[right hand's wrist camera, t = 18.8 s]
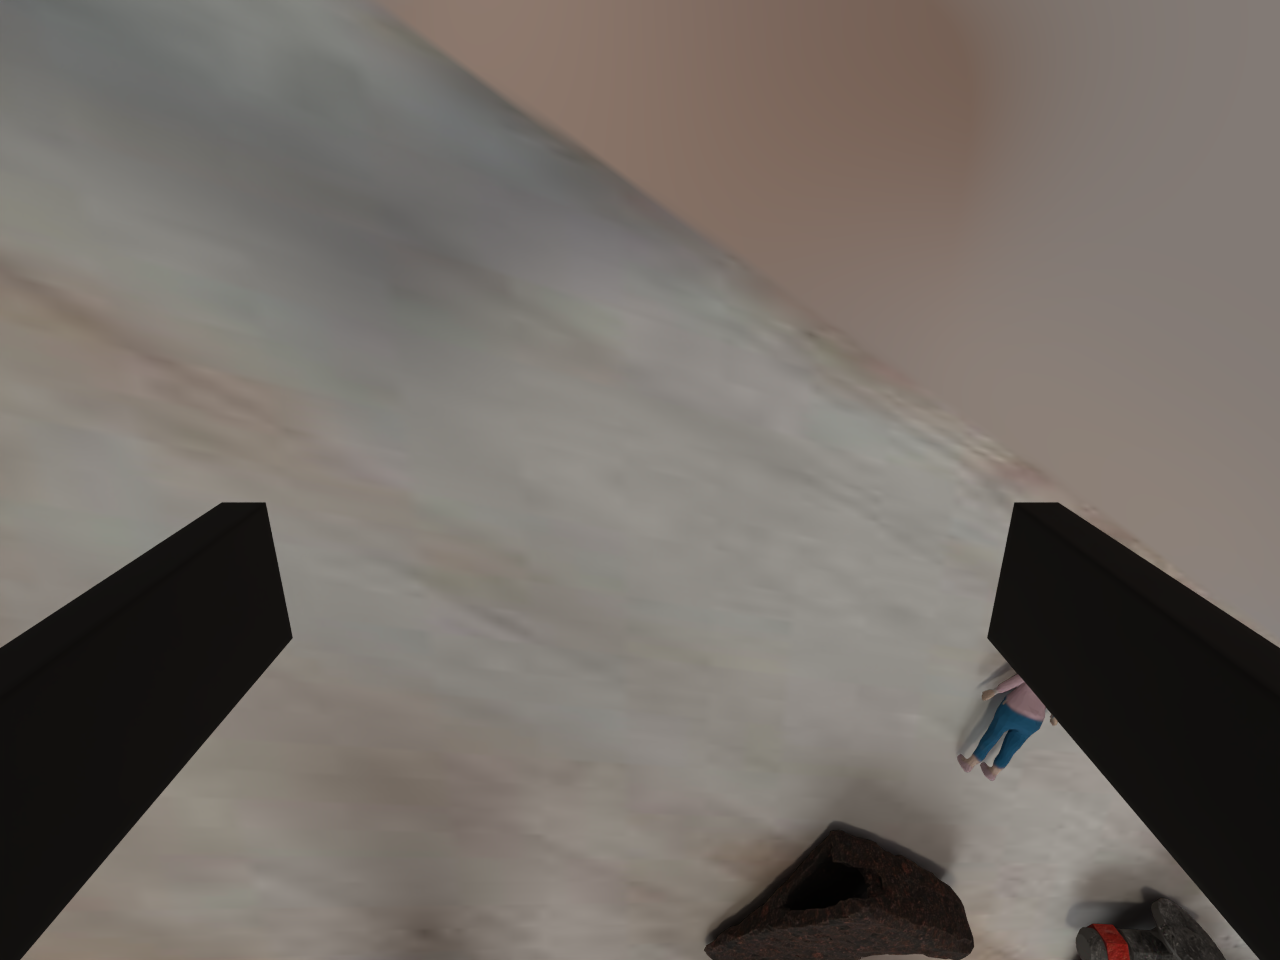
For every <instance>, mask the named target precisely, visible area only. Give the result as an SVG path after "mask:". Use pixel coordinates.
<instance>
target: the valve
mask: <svg viewBox="0 0 1280 960" xmlns="http://www.w3.org/2000/svg"><path fill="white" fill-rule="evenodd" d="M1151 909H1152V914H1153V917H1154V919H1155V921H1156V923H1157V926H1156V928H1154V929H1152V930H1135V929H1116V928H1115V927H1114V926H1113V925H1110V924H1091V925H1089V926H1088V927H1082V928H1081V929H1080V931H1079V933H1078V935H1077V937H1076V947H1077V951H1078V953H1079V956H1080V957H1081V959H1082V960H1226V959H1225V958H1224V956H1223V954H1222V953H1221V951H1220V950H1219V949H1218V947H1217V946H1216V944H1215V943H1214V942H1213V941H1212V939H1211V938H1210V937H1209V935H1208V934H1207V933H1206V932H1205V931H1204V930H1203V929H1202V927H1201V926H1200V925H1199V924H1198V923H1197V922H1196V921H1195V920H1194V919H1193V918H1192V917H1191V916H1190V915H1189V914H1188V913H1187V912H1185V911H1184V910H1183V909H1182V908H1181V907H1179V906H1178V905H1177V904H1175V903H1174V902H1172V901H1170V900H1168V899H1165V898H1161V899H1158V900H1157V901H1155V902H1153V903H1152V905H1151Z"/></svg>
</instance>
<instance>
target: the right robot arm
mask: <svg viewBox="0 0 1280 960" xmlns="http://www.w3.org/2000/svg"><path fill="white" fill-rule="evenodd" d="M292 638H293V637H292V632H291V627H290V622H289V617H288V612H287V607H286V602H285V597H284V592H283V587H282V582H281V577H280V572H279V567H278V562H277V557H276V552H275V547H274V542H273V537H272V532H271V527H270V522H269V517H268V512H267V507H266V503H220V504H219V505H217V506H216V507H214V508H213V509H211V510H210V511H208V512H207V513H205V514H204V515H202V516H201V517H199V518H198V519H196V520H194V521H193V522H191V523H190V524H188V525H187V526H185V527H184V528H182V529H181V530H179V531H178V532H176V533H175V534H173V535H172V536H170V537H169V538H167V539H166V540H164V541H163V542H161V543H159V544H158V545H156V546H155V547H153V548H152V549H150V550H149V551H147V552H146V553H144V554H143V555H141V556H140V557H138V558H137V559H135V560H134V561H132V562H131V563H129V564H128V565H126V566H124V567H123V568H121V569H120V570H118V571H117V572H115V573H114V574H112V575H111V576H109V577H108V578H106V579H105V580H103V581H102V582H100V583H99V584H97V585H96V586H94V587H93V588H91V589H89V590H88V591H86V592H85V593H83V594H82V595H80V596H79V597H77V598H76V599H74V600H73V601H71V602H70V603H68V604H67V605H65V606H64V607H62V608H61V609H59V610H58V611H56V612H54V613H53V614H51V615H50V616H48V617H47V618H45V619H44V620H42V621H41V622H39V623H38V624H36V625H35V626H33V627H32V628H30V629H29V630H27V631H26V632H24V633H23V634H21V635H19V636H18V637H16V638H15V639H13V640H12V641H10V642H9V643H7V644H6V645H4V646H3V647H1V648H0V960H20V959H21V958H22V957H23V956H24V955H25V954H26V952H27V951H28V950H29V949H30V948H31V946H32V945H33V944H34V943H35V942H36V941H37V939H38V938H39V937H40V936H41V935H42V933H43V932H44V931H45V930H46V929H47V928H48V926H49V925H50V924H51V923H52V922H53V920H54V919H55V918H56V917H57V916H58V915H59V913H60V912H61V911H62V910H63V909H64V907H65V906H66V905H67V904H68V903H69V902H70V900H71V899H72V898H73V897H74V896H75V894H76V893H77V892H78V891H79V890H80V889H81V887H82V886H83V885H84V884H85V883H86V881H87V880H88V879H89V878H90V877H91V876H92V874H93V873H94V872H95V871H96V870H97V868H98V867H99V866H100V865H101V864H102V863H103V861H104V860H105V859H106V858H107V857H108V855H109V854H110V853H111V852H112V851H113V850H114V848H115V847H116V846H117V845H118V844H119V842H120V841H121V840H122V839H123V838H124V837H125V835H126V834H127V833H128V832H129V831H130V829H131V828H132V827H133V826H134V825H135V824H136V822H137V821H138V820H139V819H140V818H141V816H142V815H143V814H144V813H145V812H146V811H147V809H148V808H149V807H150V806H151V805H152V804H153V802H154V801H155V800H156V799H157V798H158V796H159V795H160V794H161V793H162V792H163V791H164V789H165V788H166V787H167V786H168V785H169V783H170V782H171V781H172V780H173V779H174V778H175V776H176V775H177V774H178V773H179V772H180V770H181V769H182V768H183V767H184V766H185V765H186V763H187V762H188V761H189V760H190V759H191V757H192V756H193V755H194V754H195V753H196V752H197V750H198V749H199V748H200V747H201V746H202V744H203V743H204V742H205V741H206V740H207V739H208V737H209V736H210V735H211V734H212V733H213V731H214V730H215V729H216V728H217V727H218V726H219V724H220V723H221V722H222V721H223V720H224V718H225V717H226V716H227V715H228V714H229V713H230V711H231V710H232V709H233V708H234V707H235V705H236V704H237V703H238V702H239V701H240V700H241V698H242V697H243V696H244V695H245V694H246V692H247V691H248V690H249V689H250V688H251V687H252V685H253V684H254V683H255V682H256V681H257V679H258V678H259V677H260V676H261V675H262V674H263V672H264V671H265V670H266V669H267V668H268V667H269V665H270V664H271V663H272V662H273V661H274V659H275V658H276V657H277V656H278V655H279V654H280V652H281V651H282V650H283V649H284V648H285V646H286V645H287V644H288V643H289V642H290V641H291V639H292ZM987 638H988V639H989V641H990V642H991V643H992V644H993V645H994V646H995V648H996V649H997V650H998V651H999V652H1000V654H1001V655H1002V656H1003V657H1004V658H1005V659H1006V661H1007V662H1008V663H1009V664H1010V665H1011V667H1012V668H1013V669H1014V670H1015V671H1016V672H1017V674H1018V675H1019V676H1020V677H1021V678H1022V679H1023V681H1024V682H1025V683H1026V684H1027V685H1028V687H1029V688H1030V689H1031V690H1032V691H1033V692H1034V694H1035V695H1036V696H1037V697H1038V698H1039V700H1040V701H1041V702H1042V703H1043V704H1044V705H1045V707H1046V708H1047V709H1048V710H1049V711H1050V713H1051V714H1052V715H1053V716H1054V717H1055V718H1056V720H1057V721H1058V722H1059V723H1060V724H1061V726H1062V727H1063V728H1064V729H1065V730H1066V731H1067V733H1068V734H1069V735H1070V736H1071V737H1072V739H1073V740H1074V741H1075V742H1076V743H1077V744H1078V746H1079V747H1080V748H1081V749H1082V750H1083V752H1084V753H1085V754H1086V755H1087V756H1088V757H1089V759H1090V760H1091V761H1092V762H1093V763H1094V765H1095V766H1096V767H1097V768H1098V769H1099V770H1100V772H1101V773H1102V774H1103V775H1104V776H1105V778H1106V779H1107V780H1108V781H1109V782H1110V783H1111V785H1112V786H1113V787H1114V788H1115V789H1116V791H1117V792H1118V793H1119V794H1120V795H1121V796H1122V798H1123V799H1124V800H1125V801H1126V802H1127V804H1128V805H1129V806H1130V807H1131V808H1132V809H1133V811H1134V812H1135V813H1136V814H1137V815H1138V816H1139V818H1140V819H1141V820H1142V821H1143V822H1144V824H1145V825H1146V826H1147V827H1148V828H1149V829H1150V831H1151V832H1152V833H1153V834H1154V835H1155V837H1156V838H1157V839H1158V840H1159V841H1160V842H1161V844H1162V845H1163V846H1164V847H1165V848H1166V850H1167V851H1168V852H1169V853H1170V854H1171V855H1172V857H1173V858H1174V859H1175V860H1176V861H1177V863H1178V864H1179V865H1180V866H1181V867H1182V868H1183V870H1184V871H1185V872H1186V873H1187V874H1188V876H1189V877H1190V878H1191V879H1192V880H1193V881H1194V883H1195V884H1196V885H1197V886H1198V887H1199V889H1200V890H1201V891H1202V892H1203V893H1204V894H1205V896H1206V897H1207V898H1208V899H1209V900H1210V902H1211V903H1212V904H1213V905H1214V906H1215V907H1216V909H1217V910H1218V911H1219V912H1220V913H1221V915H1222V916H1223V917H1224V918H1225V919H1226V920H1227V922H1228V923H1229V924H1230V925H1231V926H1232V928H1233V929H1234V930H1235V931H1236V932H1237V933H1238V935H1239V936H1240V937H1241V938H1242V939H1243V941H1244V942H1245V943H1246V944H1247V945H1248V946H1249V948H1250V949H1251V950H1252V951H1253V952H1254V954H1255V955H1256V956H1257V957H1258V958H1259V959H1260V960H1280V648H1279V647H1277V646H1276V645H1274V644H1273V643H1271V642H1270V641H1268V640H1267V639H1265V638H1264V637H1262V636H1261V635H1259V634H1257V633H1256V632H1254V631H1253V630H1251V629H1250V628H1248V627H1247V626H1245V625H1244V624H1242V623H1241V622H1239V621H1238V620H1236V619H1235V618H1233V617H1232V616H1230V615H1229V614H1227V613H1226V612H1224V611H1222V610H1221V609H1219V608H1218V607H1216V606H1215V605H1213V604H1212V603H1210V602H1209V601H1207V600H1206V599H1204V598H1203V597H1201V596H1200V595H1198V594H1197V593H1195V592H1194V591H1192V590H1191V589H1189V588H1187V587H1186V586H1184V585H1183V584H1181V583H1180V582H1178V581H1177V580H1175V579H1174V578H1172V577H1171V576H1169V575H1168V574H1166V573H1165V572H1163V571H1162V570H1160V569H1159V568H1157V567H1156V566H1154V565H1152V564H1151V563H1149V562H1148V561H1146V560H1145V559H1143V558H1142V557H1140V556H1139V555H1137V554H1136V553H1134V552H1133V551H1131V550H1130V549H1128V548H1127V547H1125V546H1124V545H1122V544H1121V543H1119V542H1117V541H1116V540H1114V539H1113V538H1111V537H1110V536H1108V535H1107V534H1105V533H1104V532H1102V531H1101V530H1099V529H1098V528H1096V527H1095V526H1093V525H1092V524H1090V523H1089V522H1087V521H1086V520H1084V519H1082V518H1081V517H1079V516H1078V515H1076V514H1075V513H1073V512H1072V511H1070V510H1069V509H1067V508H1066V507H1064V506H1063V505H1061V504H1060V503H1014V507H1013V512H1012V517H1011V522H1010V527H1009V532H1008V537H1007V542H1006V547H1005V552H1004V557H1003V562H1002V567H1001V572H1000V577H999V582H998V587H997V592H996V597H995V602H994V607H993V612H992V617H991V622H990V627H989V632H988V637H987Z"/></svg>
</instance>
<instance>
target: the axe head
mask: <svg viewBox="0 0 1280 960" xmlns="http://www.w3.org/2000/svg"><path fill="white" fill-rule="evenodd" d="M973 948H974V941H973V936H972V933H971V930H970V927H969V924H968V921H967V917H966V913H965V909H964V906H963V904H962V902H961V900H960V899H959V897H958V896H957V895H956V893H955V892H954V891H953V890H952V889H951V887H950V886H948V885H947V884H945V883H944V882H942V881H941V880H939V879H937V878H936V877H935V876H934V875H933V873H931V872H928V871H926V870H924V869H922V868H920V867H919V866H917V865H916V864H915V863H914V862H912V861H910V860H909V859H907V858H905V857H903V856H902V855H896V856H894V855H893V854H891V853H889V852H887V851H884V850H883V849H882V848H881V847H880V846H879V845H878V844H877V843H875V842H873V841H870V840H866V839H861V838H857V837H854V836H852V835H849V834H847V833H845V832H844V831H841V830H835V831H830V834H829V836H828V837H827V838H826V839H825V840H824V841H823V842H822V843H821V844H820V845H818V846H817V847H816V849H814V850H813V851H812V852H811V853H810V854H809V856H808V857H807V858H806V859H805V860H804V862H803V863H802V864H801V865H800V866H799V867H798V868H797V870H796V871H795V872H794V873H793V874H792V875H791V876H790V878H789V879H788V880H787V881H786V882H785V883H784V884H783V885H782V886H781V887H780V888H778V889H777V890H776V892H775V893H774V894H773V895H772V896H771V897H770V898H769V899H768V900H767V902H766V903H765V904H764V905H763V906H760V907H759V908H758V909H756V910H755V911H754V912H753V913H751V914H750V915H749V916H748V917H746V918H745V919H744V920H743V921H742V922H741V923H740V924H739V925H736V926H732V927H730V928H728V929H727V930H725V931H724V932H722V933H721V934H720V935H719V936H718V937H717V938H716V940H715V941H713V942H712V943H710V944H708V945H707V946H706V947H705V949H704V951H705V952H706V954H707V955H708V956H709V957H710V958H711V959H712V960H859V959H861V957H867V956H872V955H883V954H889V955H907V954H924V955H926V956H928V957H934V958H941V959H952V960H960V959H963V958H965V957H966V956H968V955H969V954H970V953H971V951H972V949H973Z"/></svg>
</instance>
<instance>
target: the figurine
mask: <svg viewBox="0 0 1280 960" xmlns="http://www.w3.org/2000/svg"><path fill="white" fill-rule="evenodd" d="M1014 687H1016V689H1014V690H1013V691H1012V692H1011V693H1010V694H1008V695H1007V696H1006V697H1005V698H1004V700H1003V701H1002V703H1001V704H1000V706H999V707H998V709H997V711H996V713H995V716H994V719H993V721H992V722H991V724H990V726H989V728H988V730H987V731H986V733H985V734H984V735H983V737H982V738H981V740H980V742H979V745H978V746H977V748H976V750H975V751H974V753H973V754H972V756H971V757H970V758H969V759H966V758H965V757H964V756H963V755H961V754H960V755H958V757H957V759H958V761H959V764H960V765H961V767H962V768H963V769H964V771H965V772H970V771H971V770H972V768H973V767H974V765H976V764H978V763H980V762H981V761H982V760H983V759H984V758H985V757H986V755H987V753H988V752H989V751H990V750H991V748H992V747H993V746H994V745H995V744H996V743H997V741H998V740H999V739H1000V737H1001V736H1002V734H1003V733H1004V732H1005V731H1007V730H1009V731H1008V732H1007V734H1006V736H1005V738H1004V741H1003V744H1002V747H1001V750H1000V752H999V754H998V755H997V757H996V758H995V760H994V763H993V766H992V767H989V766H988V765H987V764H986V763H984V762H983V763H981V765H980V766H981V769H982V771H983V773H984V775H985V776H986V777H987V778H988V779H989V780H991V781H993V780H995V777H996V776H997V774H998V773H999V772H1000V771H1001V770H1002V769H1004V768H1005V767H1006V765H1007V764H1008V763H1009V761H1010V760H1011V758H1012V756H1013V754H1014V753H1015V752H1016V751H1017V750H1018V749H1019V748H1020V747H1021V746H1022V745H1023V743H1024V742H1025V741H1026V740H1027V739H1028V738H1029V737H1030V736H1031V735H1032V734H1033V733H1035V732H1036V731H1037V730H1039V728H1040V726H1041V724H1042V722H1043V720H1044V718H1045V708H1046V707H1045V705H1044V704H1043V703H1042V702H1041V701H1040V700H1039V698H1038V697H1037V696H1036V695H1035V694H1034V692H1033V691H1032V690H1031V689H1030V688H1029V687H1028V685H1027V684H1026V683H1025V682H1024V681H1023V679H1022V678H1021V677H1020V676H1019V675H1018V674H1016V675H1015V676H1013V677H1012V678H1010V679H1008V680H1006V681H1004V682H1002V683H1001V684H999V685H998V687H997V688H996V689H995V690H987V691H984V692H983V695H982V699H983V700H988V699H990V698H991V697H993V696H995V695H996V694H998V693H1002V692H1006V691H1008V690H1010V689H1012V688H1014ZM1050 718H1051V719H1050V722H1051V724H1052V725H1054V726H1055V725H1056V724H1057V723H1058V721H1057V720H1056V718H1055V717H1054V716H1053V715H1052V714H1051V716H1050Z"/></svg>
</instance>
